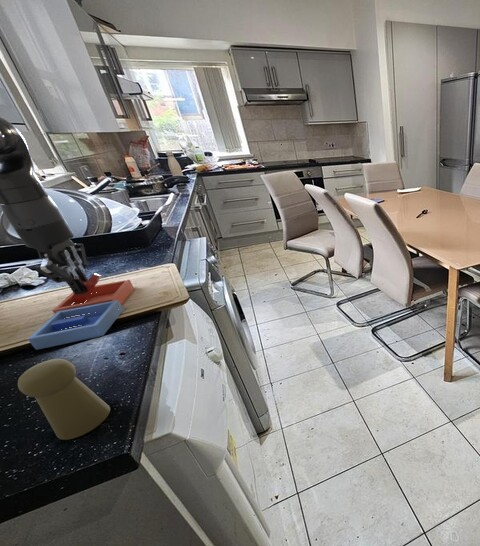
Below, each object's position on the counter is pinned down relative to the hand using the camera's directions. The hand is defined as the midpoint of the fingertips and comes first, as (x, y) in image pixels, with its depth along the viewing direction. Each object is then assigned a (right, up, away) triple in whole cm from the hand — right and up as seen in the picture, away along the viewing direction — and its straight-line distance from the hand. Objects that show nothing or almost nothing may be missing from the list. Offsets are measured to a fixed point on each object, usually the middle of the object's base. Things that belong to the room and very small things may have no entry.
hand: (84, 290), depth 74 cm
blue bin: (+7, -8, -6) cm, 12 cm away
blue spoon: (+6, -8, -7) cm, 12 cm away
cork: (+28, -18, -27) cm, 43 cm away
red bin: (+1, -3, +2) cm, 4 cm away
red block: (+1, 0, +1) cm, 1 cm away
